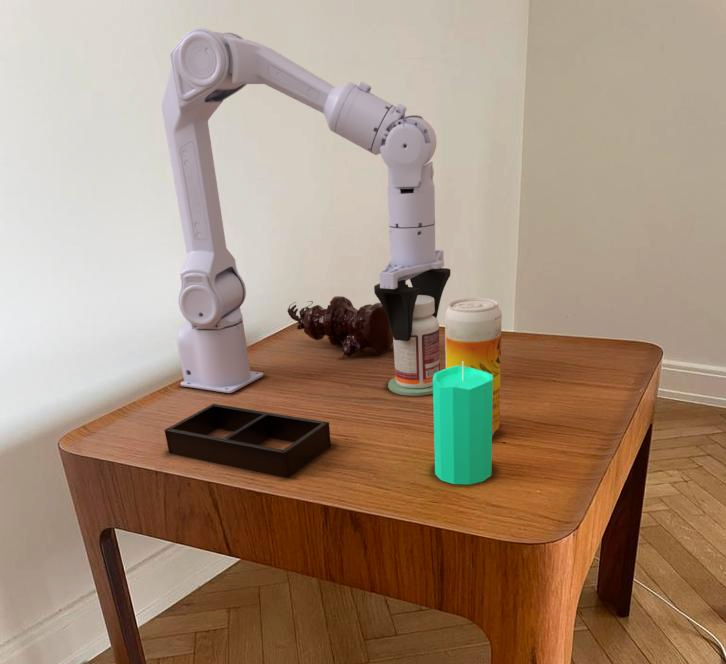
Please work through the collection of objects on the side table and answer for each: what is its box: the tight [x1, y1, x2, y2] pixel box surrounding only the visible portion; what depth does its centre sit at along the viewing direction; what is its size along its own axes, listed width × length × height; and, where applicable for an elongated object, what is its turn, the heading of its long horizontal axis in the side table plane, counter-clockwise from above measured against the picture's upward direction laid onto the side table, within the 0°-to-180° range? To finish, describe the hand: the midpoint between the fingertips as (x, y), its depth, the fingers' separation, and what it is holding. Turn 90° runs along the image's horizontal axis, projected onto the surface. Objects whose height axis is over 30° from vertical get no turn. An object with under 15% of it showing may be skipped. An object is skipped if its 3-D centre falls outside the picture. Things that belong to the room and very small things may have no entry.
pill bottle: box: [392, 295, 441, 388], centre depth 99 cm, size 6×6×11 cm
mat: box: [387, 376, 433, 397], centre depth 102 cm, size 8×8×1 cm
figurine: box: [287, 295, 394, 359], centre depth 118 cm, size 10×10×18 cm
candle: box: [432, 361, 493, 485], centre depth 75 cm, size 6×6×12 cm
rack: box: [164, 403, 332, 479], centre depth 86 cm, size 17×9×3 cm, turn 61°
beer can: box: [444, 297, 503, 436], centre depth 84 cm, size 6×6×15 cm
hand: (415, 331), depth 99 cm, fingers open, 7 cm apart
